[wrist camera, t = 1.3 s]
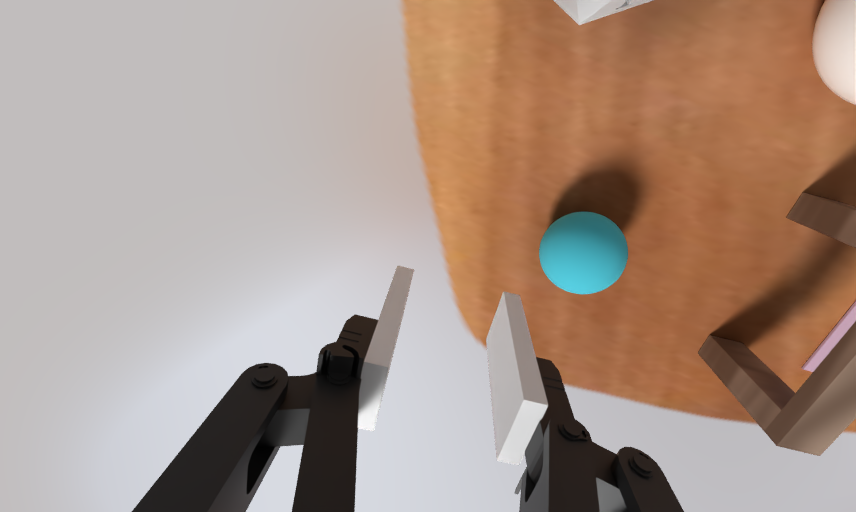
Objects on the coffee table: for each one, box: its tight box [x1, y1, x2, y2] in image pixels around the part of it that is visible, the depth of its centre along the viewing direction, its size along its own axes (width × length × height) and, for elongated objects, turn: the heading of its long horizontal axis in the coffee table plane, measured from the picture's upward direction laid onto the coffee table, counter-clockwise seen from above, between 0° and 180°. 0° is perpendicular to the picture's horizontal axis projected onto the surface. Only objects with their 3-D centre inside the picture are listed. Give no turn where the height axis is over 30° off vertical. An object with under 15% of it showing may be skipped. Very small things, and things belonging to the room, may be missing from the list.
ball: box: [539, 212, 628, 294], centre depth 29 cm, size 6×6×6 cm
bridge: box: [698, 193, 856, 456], centre depth 27 cm, size 3×15×10 cm, turn 167°
